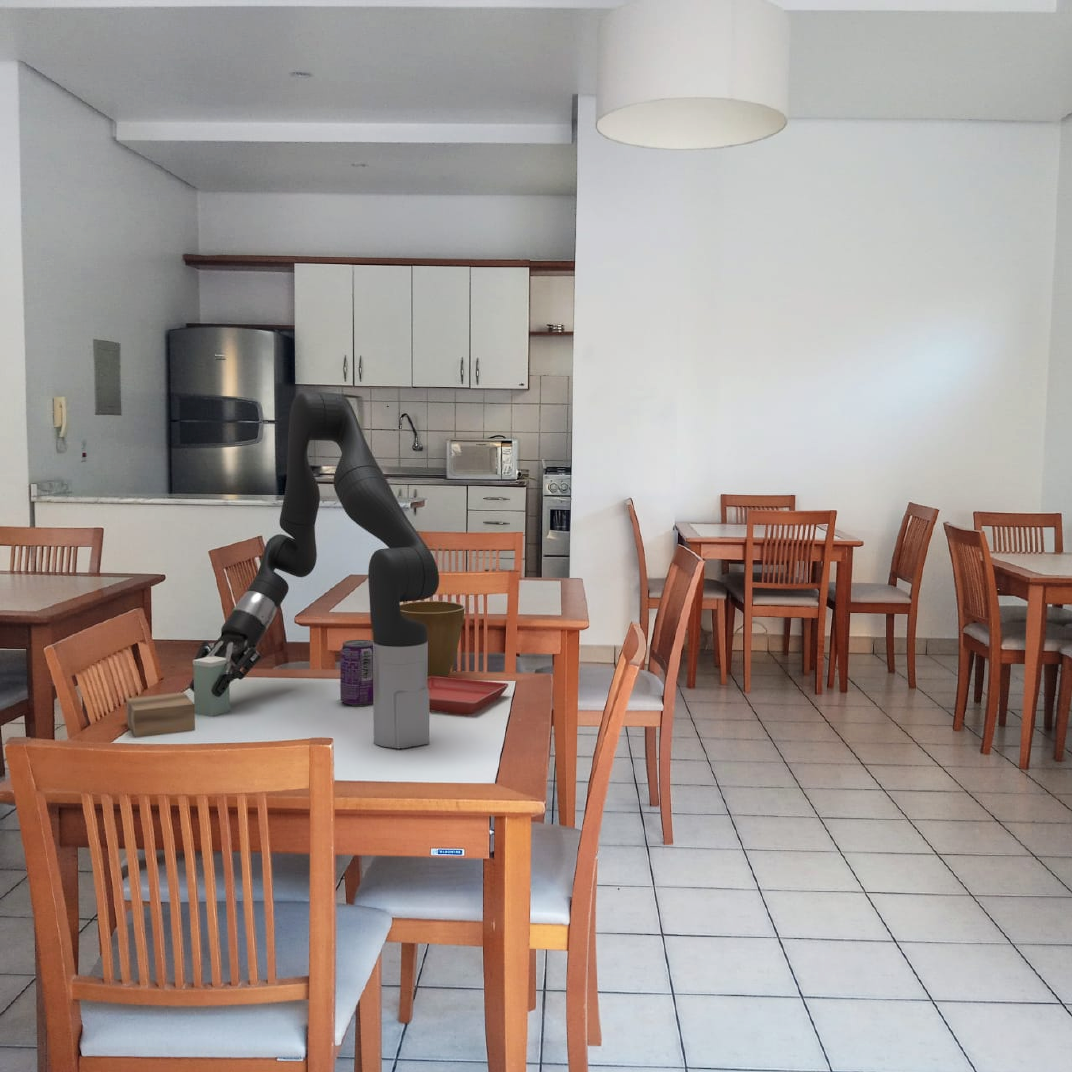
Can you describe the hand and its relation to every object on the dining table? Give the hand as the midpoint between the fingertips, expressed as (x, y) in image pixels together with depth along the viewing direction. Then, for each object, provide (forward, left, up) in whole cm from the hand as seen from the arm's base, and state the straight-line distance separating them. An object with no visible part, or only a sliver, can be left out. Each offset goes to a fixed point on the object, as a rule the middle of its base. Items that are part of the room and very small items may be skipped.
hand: (204, 692), depth 193 cm
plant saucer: (-18, -43, -5) cm, 47 cm away
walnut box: (-4, +9, -4) cm, 11 cm away
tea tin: (+1, -2, -4) cm, 5 cm away
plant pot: (+2, -50, -4) cm, 50 cm away
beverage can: (-8, -28, -4) cm, 29 cm away
